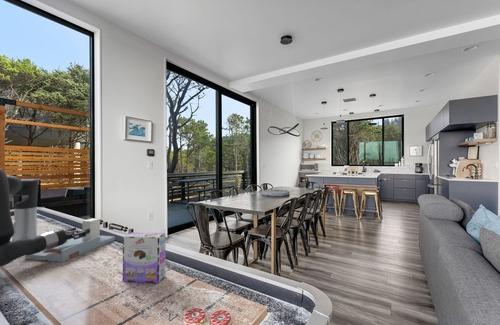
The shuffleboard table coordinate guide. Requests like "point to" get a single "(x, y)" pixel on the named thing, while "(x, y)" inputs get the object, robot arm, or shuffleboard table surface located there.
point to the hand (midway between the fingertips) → (82, 230)
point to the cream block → (91, 228)
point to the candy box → (144, 257)
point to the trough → (71, 249)
